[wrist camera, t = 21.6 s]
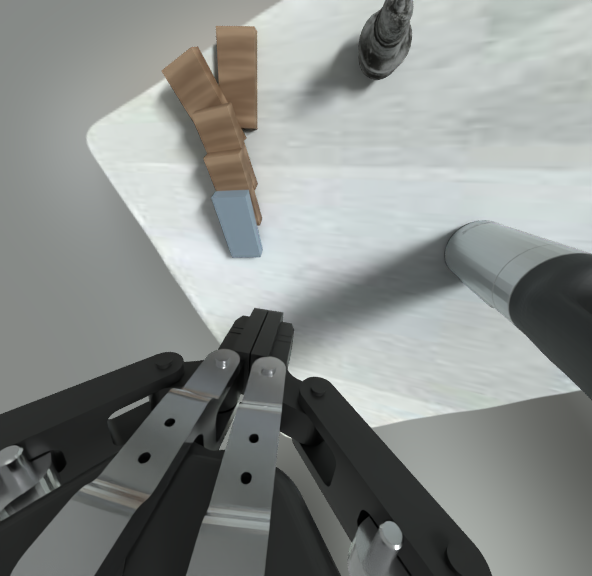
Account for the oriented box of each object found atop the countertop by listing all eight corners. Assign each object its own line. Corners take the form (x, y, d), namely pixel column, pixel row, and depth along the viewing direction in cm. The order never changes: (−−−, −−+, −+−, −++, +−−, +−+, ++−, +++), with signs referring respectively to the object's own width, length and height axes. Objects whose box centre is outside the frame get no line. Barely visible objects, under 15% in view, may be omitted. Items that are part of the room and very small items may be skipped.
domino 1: (254, 128, 38) (254, 26, 33) (220, 126, 38) (215, 25, 34) (258, 130, 40) (258, 34, 35) (225, 128, 40) (221, 33, 36)
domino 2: (242, 142, 38) (191, 47, 31) (215, 157, 40) (161, 70, 33) (246, 138, 39) (197, 46, 33) (219, 152, 41) (169, 69, 35)
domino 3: (255, 190, 41) (226, 106, 33) (224, 194, 42) (190, 114, 34) (257, 183, 42) (231, 102, 34) (228, 188, 43) (196, 110, 35)
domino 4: (259, 225, 43) (238, 154, 35) (230, 227, 44) (203, 158, 36) (262, 218, 44) (242, 148, 36) (233, 220, 45) (208, 152, 37)
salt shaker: (406, 19, 32) (443, -57, 21) (402, 79, 35) (434, 37, 24) (356, 27, 33) (367, -42, 22) (356, 85, 36) (366, 47, 25)
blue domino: (260, 257, 45) (245, 196, 37) (232, 257, 46) (211, 198, 38) (262, 249, 46) (248, 189, 38) (235, 250, 47) (215, 191, 39)
